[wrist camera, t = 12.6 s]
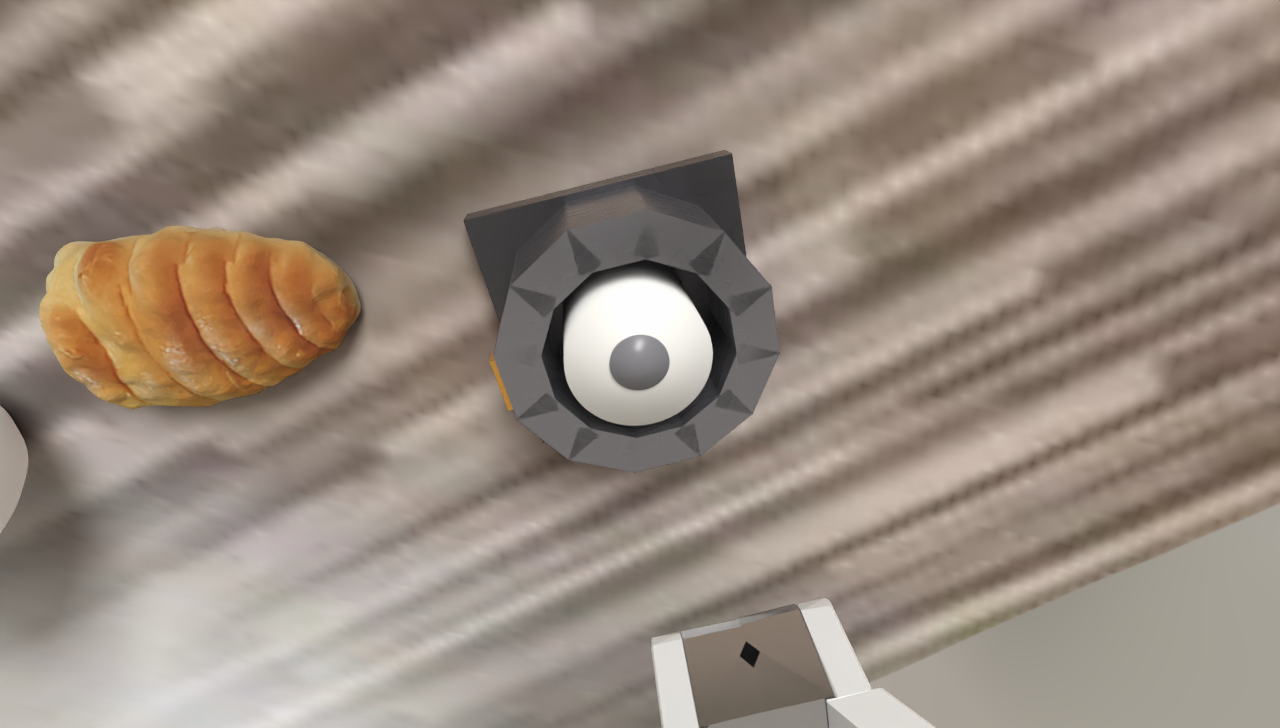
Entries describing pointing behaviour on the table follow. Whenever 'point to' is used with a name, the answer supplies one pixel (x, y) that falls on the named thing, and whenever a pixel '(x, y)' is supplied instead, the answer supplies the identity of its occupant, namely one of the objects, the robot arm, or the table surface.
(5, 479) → the white air blower bulb
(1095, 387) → the table surface
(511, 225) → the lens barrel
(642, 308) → the cylinder with grey knob
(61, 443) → the table surface
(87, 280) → the pastry
